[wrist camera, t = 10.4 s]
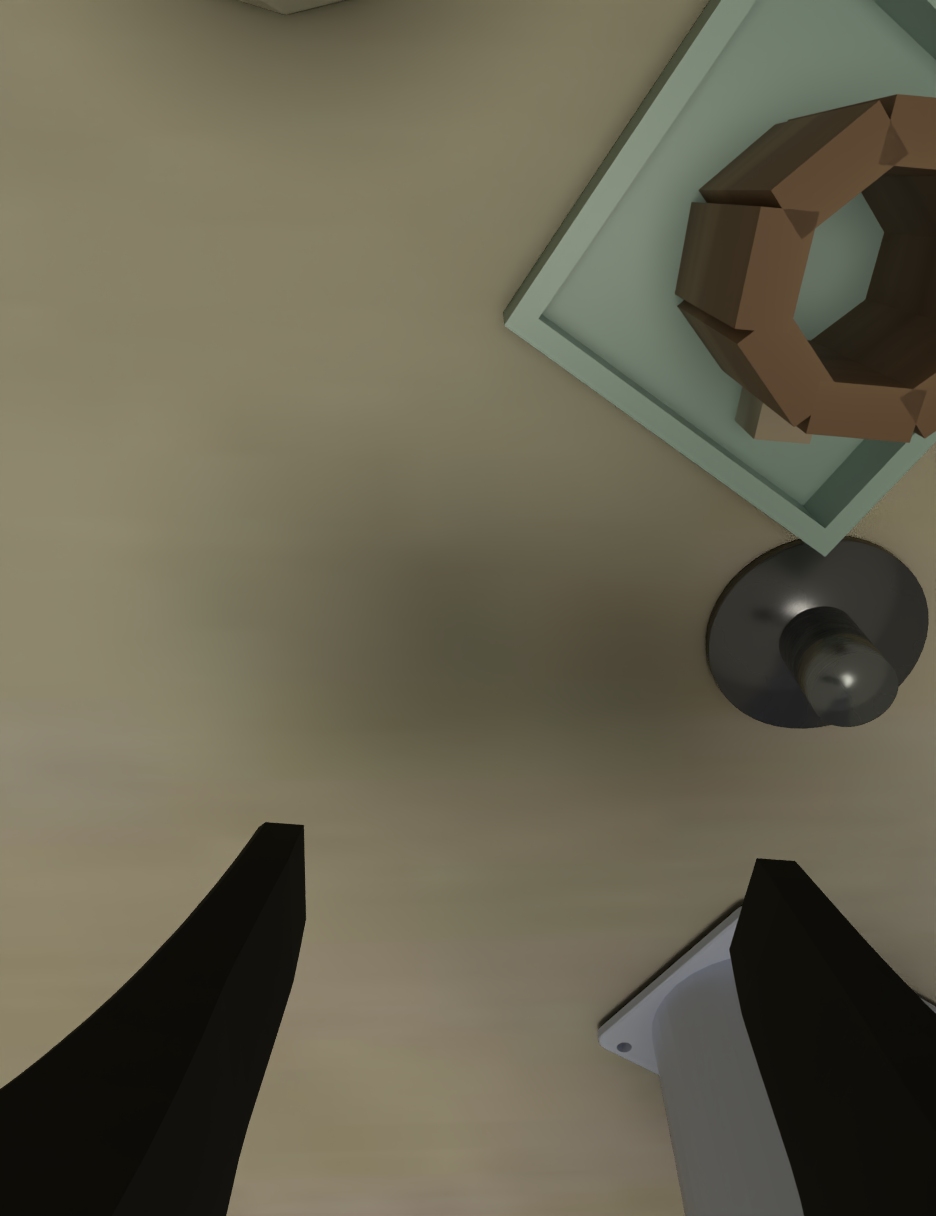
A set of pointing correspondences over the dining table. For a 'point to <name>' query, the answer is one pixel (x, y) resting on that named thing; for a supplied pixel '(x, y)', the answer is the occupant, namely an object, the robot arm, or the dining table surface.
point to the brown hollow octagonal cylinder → (775, 264)
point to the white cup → (289, 4)
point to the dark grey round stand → (817, 634)
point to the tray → (655, 232)
